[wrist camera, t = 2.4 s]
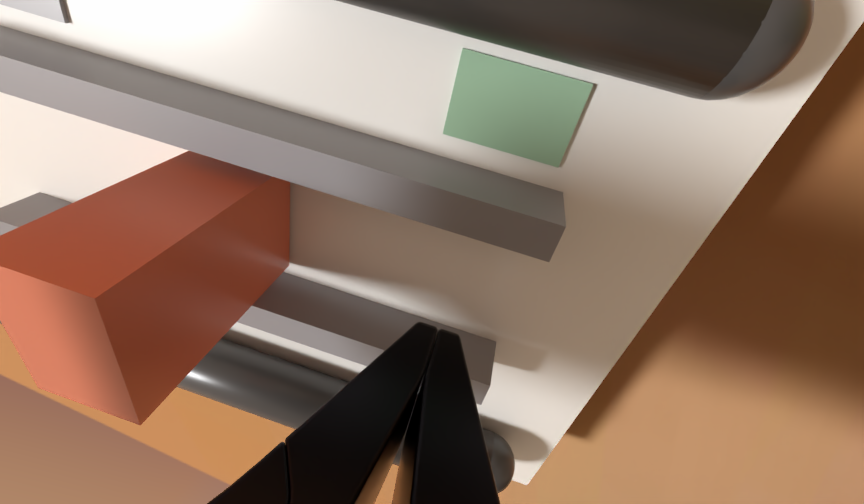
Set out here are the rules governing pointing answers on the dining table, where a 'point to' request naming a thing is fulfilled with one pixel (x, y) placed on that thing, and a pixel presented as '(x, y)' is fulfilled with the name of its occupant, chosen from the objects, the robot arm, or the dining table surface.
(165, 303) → the knob
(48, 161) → the panel
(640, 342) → the dining table surface
